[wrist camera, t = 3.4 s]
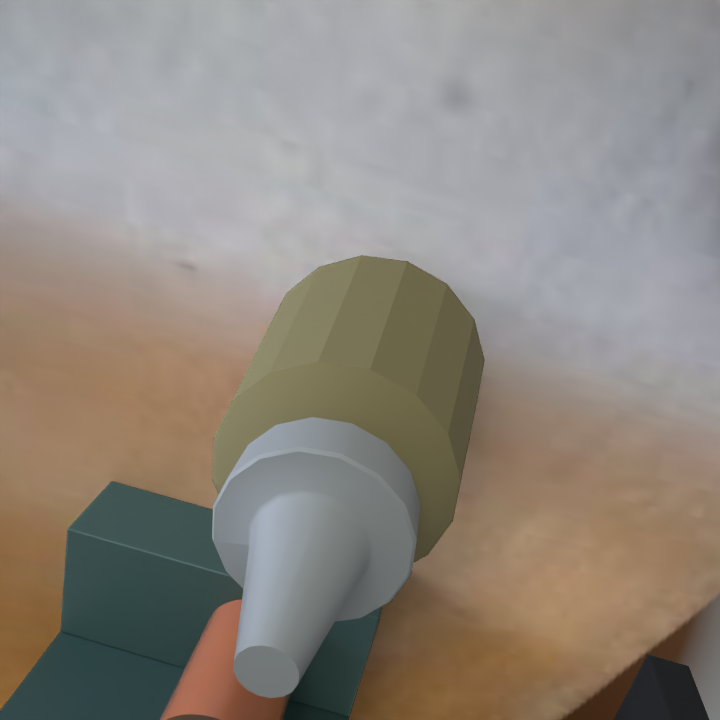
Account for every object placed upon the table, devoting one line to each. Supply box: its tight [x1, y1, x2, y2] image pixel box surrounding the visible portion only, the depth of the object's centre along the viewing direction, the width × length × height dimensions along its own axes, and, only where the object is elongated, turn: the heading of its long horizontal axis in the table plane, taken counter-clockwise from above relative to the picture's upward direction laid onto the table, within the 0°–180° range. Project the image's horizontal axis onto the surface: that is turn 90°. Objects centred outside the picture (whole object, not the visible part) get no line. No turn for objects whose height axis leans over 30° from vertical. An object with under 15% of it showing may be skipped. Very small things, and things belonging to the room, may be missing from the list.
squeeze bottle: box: [212, 255, 484, 698], centre depth 20 cm, size 8×8×18 cm
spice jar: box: [160, 599, 291, 720], centre depth 27 cm, size 5×5×7 cm
